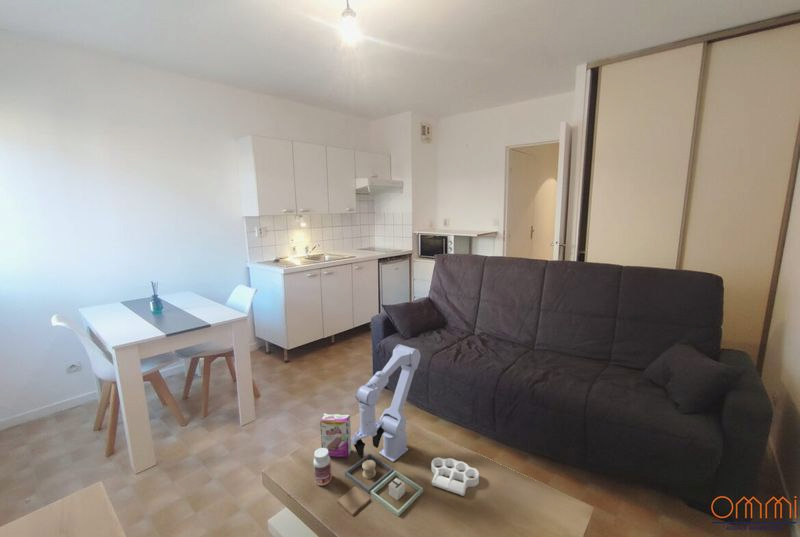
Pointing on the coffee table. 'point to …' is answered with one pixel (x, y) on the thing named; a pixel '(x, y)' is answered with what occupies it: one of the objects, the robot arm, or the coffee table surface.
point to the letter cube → (396, 488)
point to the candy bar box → (336, 434)
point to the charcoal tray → (390, 471)
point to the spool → (369, 469)
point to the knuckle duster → (453, 475)
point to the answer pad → (353, 500)
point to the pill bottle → (322, 466)
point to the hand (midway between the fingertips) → (368, 451)
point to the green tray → (386, 504)
